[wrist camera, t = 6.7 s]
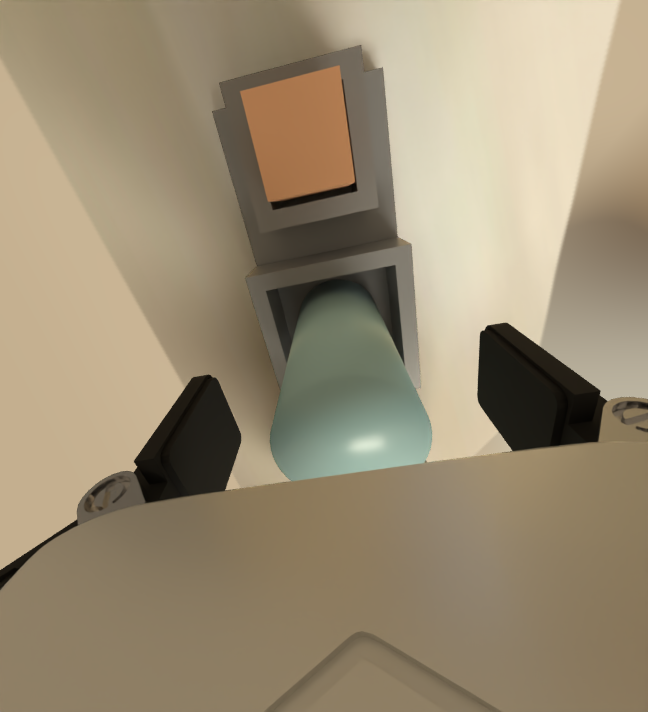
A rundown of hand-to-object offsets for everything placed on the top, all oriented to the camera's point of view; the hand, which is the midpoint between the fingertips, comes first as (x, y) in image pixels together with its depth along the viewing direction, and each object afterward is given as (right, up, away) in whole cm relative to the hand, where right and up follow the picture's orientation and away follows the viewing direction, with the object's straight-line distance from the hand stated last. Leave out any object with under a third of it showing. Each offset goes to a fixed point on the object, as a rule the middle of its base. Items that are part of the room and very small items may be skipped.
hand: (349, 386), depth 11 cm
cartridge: (0, +3, +8) cm, 9 cm away
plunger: (-2, +11, +4) cm, 11 cm away
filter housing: (-1, +8, +7) cm, 10 cm away
